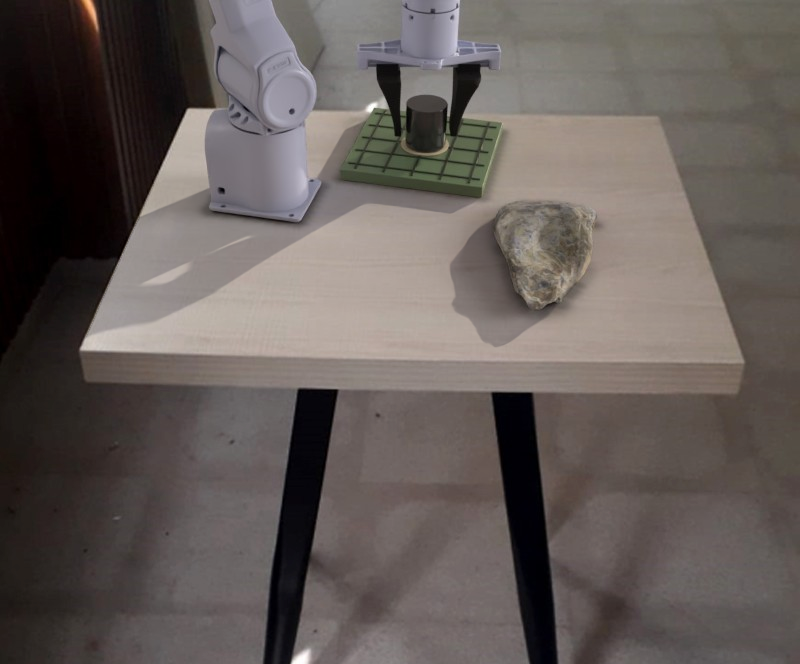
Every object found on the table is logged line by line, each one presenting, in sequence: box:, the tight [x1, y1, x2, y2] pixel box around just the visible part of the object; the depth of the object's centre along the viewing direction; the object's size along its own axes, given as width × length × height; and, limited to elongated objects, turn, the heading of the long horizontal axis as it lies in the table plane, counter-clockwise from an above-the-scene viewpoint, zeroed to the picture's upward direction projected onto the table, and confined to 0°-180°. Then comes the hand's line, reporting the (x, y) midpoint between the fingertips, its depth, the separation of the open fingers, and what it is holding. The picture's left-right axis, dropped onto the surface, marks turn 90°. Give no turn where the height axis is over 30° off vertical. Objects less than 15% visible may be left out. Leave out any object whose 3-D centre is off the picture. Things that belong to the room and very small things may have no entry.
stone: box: [492, 200, 598, 311], centre depth 89 cm, size 20×4×10 cm
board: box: [339, 107, 504, 198], centre depth 104 cm, size 15×15×1 cm
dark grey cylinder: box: [405, 94, 449, 153], centre depth 102 cm, size 4×4×5 cm
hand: (425, 132), depth 103 cm, fingers open, 5 cm apart
